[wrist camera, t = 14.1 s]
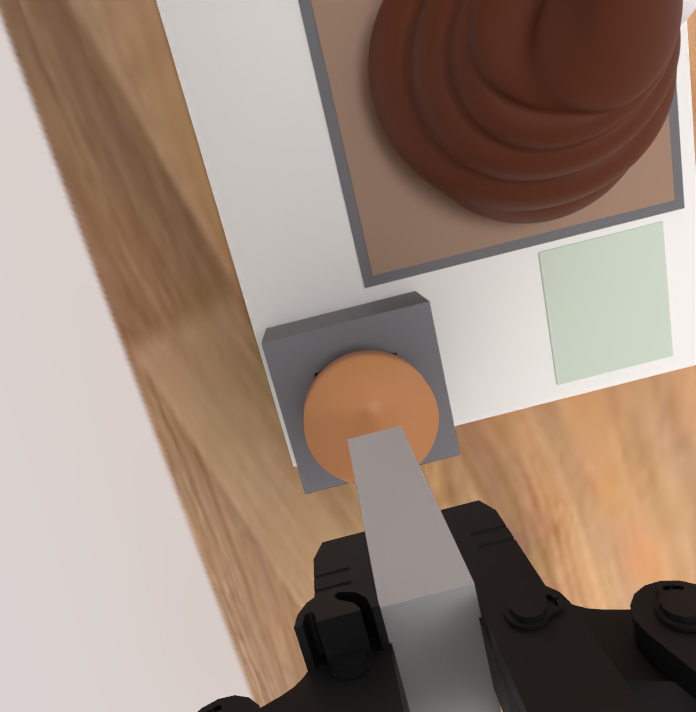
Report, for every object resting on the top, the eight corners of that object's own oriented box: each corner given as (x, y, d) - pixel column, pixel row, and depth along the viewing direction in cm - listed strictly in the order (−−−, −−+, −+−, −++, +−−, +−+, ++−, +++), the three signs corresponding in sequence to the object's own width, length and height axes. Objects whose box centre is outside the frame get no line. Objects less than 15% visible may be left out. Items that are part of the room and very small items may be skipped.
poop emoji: (318, 114, 19) (329, 30, 10) (457, -122, 18) (615, -467, 9) (535, 267, 21) (706, 309, 12) (677, 67, 20) (990, -54, 11)
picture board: (140, -68, 18) (103, -131, 15) (654, -192, 19) (731, -281, 15) (294, 456, 24) (292, 497, 20) (690, 355, 24) (753, 379, 21)
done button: (290, 350, 20) (288, 377, 17) (405, 321, 20) (424, 342, 17) (319, 454, 21) (322, 499, 18) (428, 427, 21) (450, 466, 18)
